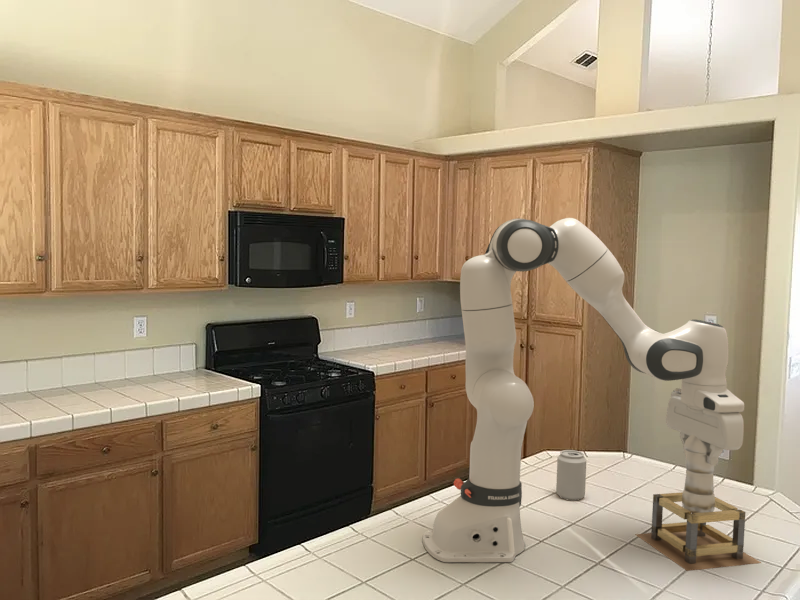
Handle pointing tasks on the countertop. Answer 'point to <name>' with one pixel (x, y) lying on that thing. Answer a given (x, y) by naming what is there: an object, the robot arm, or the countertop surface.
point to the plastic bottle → (698, 477)
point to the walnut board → (701, 561)
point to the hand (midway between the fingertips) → (700, 459)
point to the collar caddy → (698, 527)
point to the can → (571, 475)
